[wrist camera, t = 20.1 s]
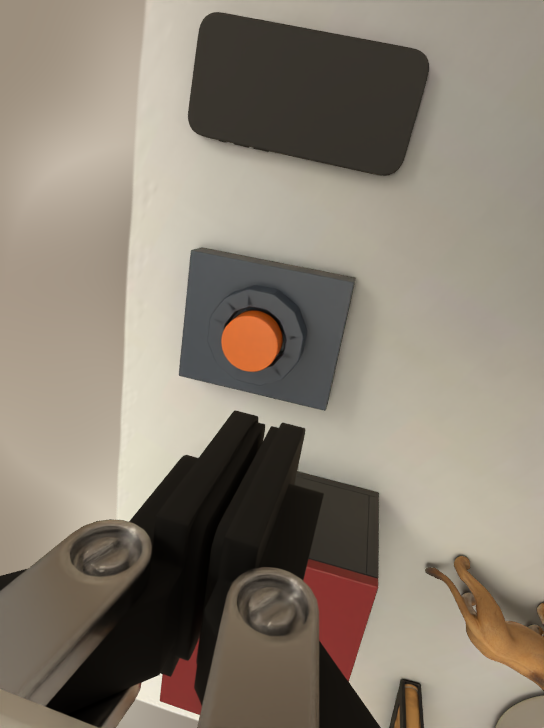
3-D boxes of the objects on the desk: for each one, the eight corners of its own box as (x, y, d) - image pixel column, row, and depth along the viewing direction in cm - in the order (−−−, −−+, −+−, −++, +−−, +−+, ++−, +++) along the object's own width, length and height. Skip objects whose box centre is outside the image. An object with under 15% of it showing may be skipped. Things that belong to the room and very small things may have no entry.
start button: (287, 316, 33) (282, 322, 32) (277, 369, 35) (272, 377, 33) (232, 305, 34) (224, 310, 32) (225, 357, 35) (217, 364, 33)
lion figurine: (609, 611, 39) (671, 722, 31) (574, 654, 41) (624, 769, 33) (437, 542, 40) (451, 631, 32) (411, 587, 42) (419, 681, 34)
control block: (355, 277, 35) (352, 286, 31) (328, 399, 38) (323, 421, 35) (201, 247, 37) (181, 252, 33) (188, 366, 40) (169, 383, 36)
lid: (325, 747, 37) (315, 846, 32) (163, 692, 39) (126, 775, 33) (378, 578, 31) (378, 662, 25) (182, 522, 33) (141, 588, 27)
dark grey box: (338, 634, 46) (327, 741, 37) (205, 593, 48) (164, 685, 39) (378, 492, 40) (378, 577, 31) (225, 452, 42) (182, 521, 33)
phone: (398, 180, 31) (185, 133, 33) (397, 180, 32) (189, 134, 34) (435, 51, 29) (201, 7, 30) (433, 55, 29) (205, 12, 31)
